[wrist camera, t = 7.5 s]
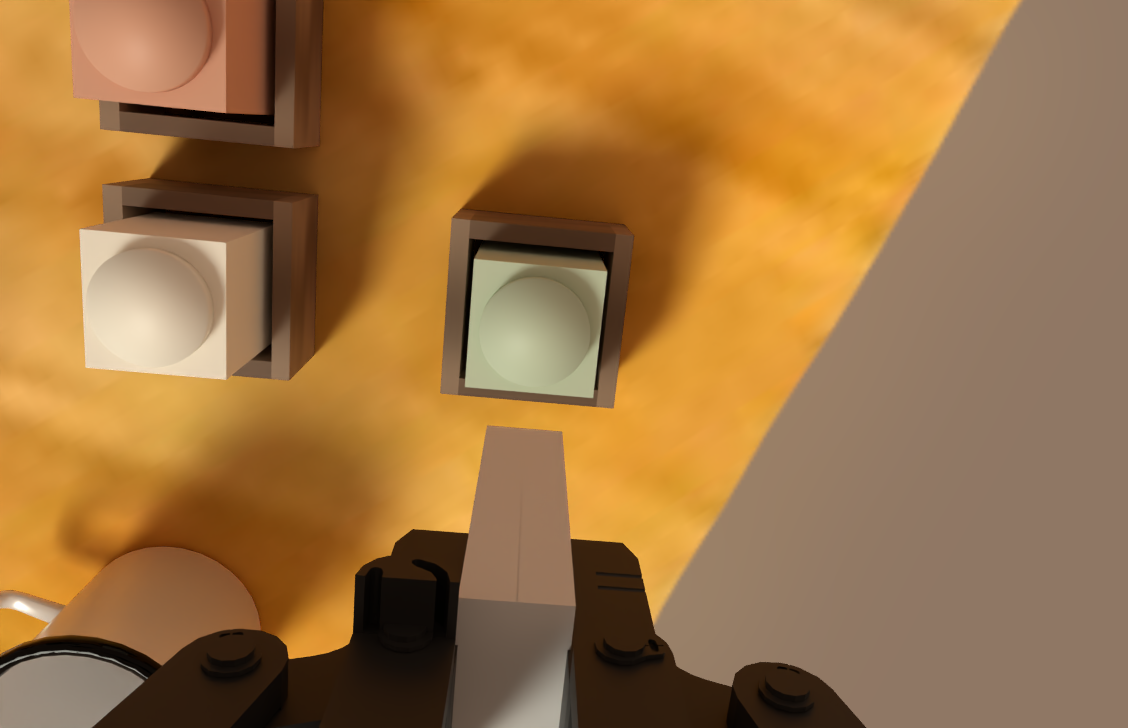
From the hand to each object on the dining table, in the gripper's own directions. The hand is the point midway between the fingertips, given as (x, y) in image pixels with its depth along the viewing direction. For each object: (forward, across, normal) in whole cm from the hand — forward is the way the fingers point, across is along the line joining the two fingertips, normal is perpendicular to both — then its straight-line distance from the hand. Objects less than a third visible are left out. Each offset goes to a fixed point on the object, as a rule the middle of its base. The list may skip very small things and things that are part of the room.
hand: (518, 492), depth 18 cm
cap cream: (+19, -13, 0) cm, 23 cm away
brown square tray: (+21, 0, 0) cm, 21 cm away
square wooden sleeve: (+21, -13, 0) cm, 25 cm away
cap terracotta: (+19, -13, +9) cm, 25 cm away
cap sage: (+21, 0, 0) cm, 21 cm away
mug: (+22, -17, -17) cm, 32 cm away
